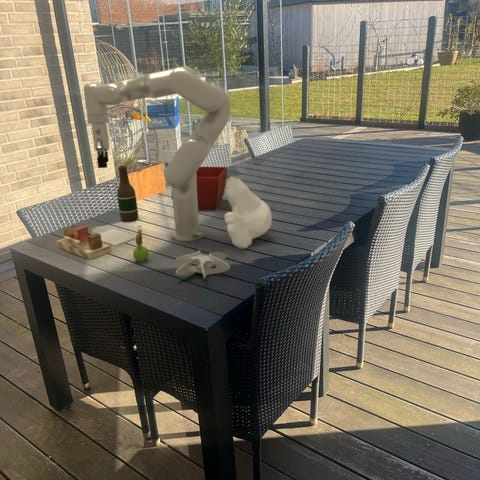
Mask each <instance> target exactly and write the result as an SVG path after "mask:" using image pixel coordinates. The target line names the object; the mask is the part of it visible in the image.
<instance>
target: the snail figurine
mask: <svg viewBox="0 0 480 480" xmlns="http://www.w3.org/2000/svg"><path fill="white" fill-rule="evenodd" d="M137 227H138V229H137V233H136V235H135V236H136V239H135V243H136V245H137V246H136V247H135V248H134V249H133V251H132V252H133V253H132V256H133V259H135V260H136V261H137V262H144V261H146V260H147V259H148V258H149V256H150V255H149V254H150V253H149V250H148V248H147V247H145V246H143V234H142V231H143V230H142V229H141V227H142V225H137ZM139 227H140V228H139Z"/></svg>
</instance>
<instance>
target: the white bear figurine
mask: <svg viewBox="0 0 480 480" xmlns="http://www.w3.org/2000/svg"><path fill="white" fill-rule="evenodd" d="M225 196H226V199H227V201H228V203H229V204H230V206H231V210H232V211H227V212H226V213H225V214H224V221H225V223H226V224H227V225H226V230H227V233H228V236H229V238H231V242H232V244H233V245H234V246H235V247H237V248H239V249H241V250H245V249H247V248H248V247H250V246H251V245H252V242H253V239H256V238H258V237H261V236H263V235H264V234H265V233H266V232H268V230H269V229H270V228H271V226H272V221H273V217H272V210H271V208H270V207H269V205H268V203H266V202H265V201H263V199H261V198H260V197H259V196H257V195H255V194H254V193H253V192H252V191H251V189H250V188H249V187H248V186H247V185H246V184H245V183H244V182H243V181H242V180H241V179H240V178H238V177H237V178H236V177H235V176H230V177H228V179H227V181H226V184H225Z"/></svg>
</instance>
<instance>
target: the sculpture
mask: <svg viewBox="0 0 480 480" xmlns="http://www.w3.org/2000/svg"><path fill="white" fill-rule="evenodd" d="M226 258H227V253H224V252H209V254H208V255H207V254H202V251H201V250H198V251H197V252H193V253H190V254H185V255H181V256H179V257H177V258H175V259H174V262H175V263H176V264H177V265H178V266H180V267H179V268H178V269H176V270H175V275H178V276H180V277H181V276H185V277H186V276H193V275H195V274H196V273H199V274H202V275H203V276H202V277H203V279H204V280H205V279H206V277H207V276H209V275H210V276H211V275H215V274H220V273H223V272H228V271H229V270H230V269H231V265H230V264H228V263H227V262H225V261H224V260H225V259H226ZM207 262H208V263H209V262H211V264H209V265H205V263H207ZM193 263H200V264H199V265H192V264H193Z"/></svg>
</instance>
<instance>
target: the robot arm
mask: <svg viewBox="0 0 480 480" xmlns="http://www.w3.org/2000/svg"><path fill="white" fill-rule="evenodd" d="M173 95H179V96H180V97H181V98H183V99H184V100H186V101H188V102H189V103H191V104H192V105H194V106H195V107H197V108H198V109H200V110H201V111H203V112H205V113H204V115H203V117H202V118H201V119H200V121H199V123H198V124H197V126H196V127H195V129H194V130H193V132H192V133H191V134H190V135H189V136H188V137H186V139H185V140H184V141H183V142H182V143H181V145H180V146H179V148H178V149H177V151H176V152H175V154H174V155H173V157H172V159H171V160H170V161H169V163H168V165H167V166H166V167H165V170H164V179H165V182H166V183H167V184H168V186H170V187H171V196H172V207H173V215H174V216H173V217H174V226H175V231H174V232H172V234H171V235H172V238H173V240H175V241H178V242H194V241H197V240H201V238H204V236H205V234H206V232H207V231H206V230H205V229H202V225H201V224H200V215H199V214H200V213H199V210H198V200H197V183H196V171H197V170H198V169H199V167H202V164H203V163H204V161H205V159H206V158H207V157H208V156H209V154H210V151H211V149H212V148H213V146H214V144H215V143H216V142H217V140H218V138H219V137H220V136H221V134H222V132H223V131H224V129H225V127H226V126H227V123H228V121H229V118H230V114H231V102H230V99H229V96H228V93H227V92H226V90H225V89H224V88H223V87H222V86H221V85H218V84H216V83H212V84H209V83H207V81H204V80H203V79H201V78H200V77H199V76H197V75H196V72H195V71H194V69H193V68H191V67H190V66H185V65H184V66H178V67H174V68H169V69H164V70H160V71H156V72H150V73H147V74H145V75H143V76H139V77H136V78H131V79H125V80H121V81H114V82H111V83H106V84H105V83H99V82H94V83H85V84H84V86H83V96H84V103H85V111H86V117H87V119H86V120H87V124H88V125H91V131H92V132H91V133H92V140H93V146H94V150H95V151H96V156H97V157H96V160H97V167H98V169H106V168H108V163H109V152H108V151H109V150H110V147H111V146H110V139H109V131H108V125H107V124H108V123H110V118H109V109H108V105H109V106H118V105H120V104H124V103H127V102H133V101H136V100H141V99H146V98H147V99H157V98H162V97H167V96H173Z"/></svg>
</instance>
